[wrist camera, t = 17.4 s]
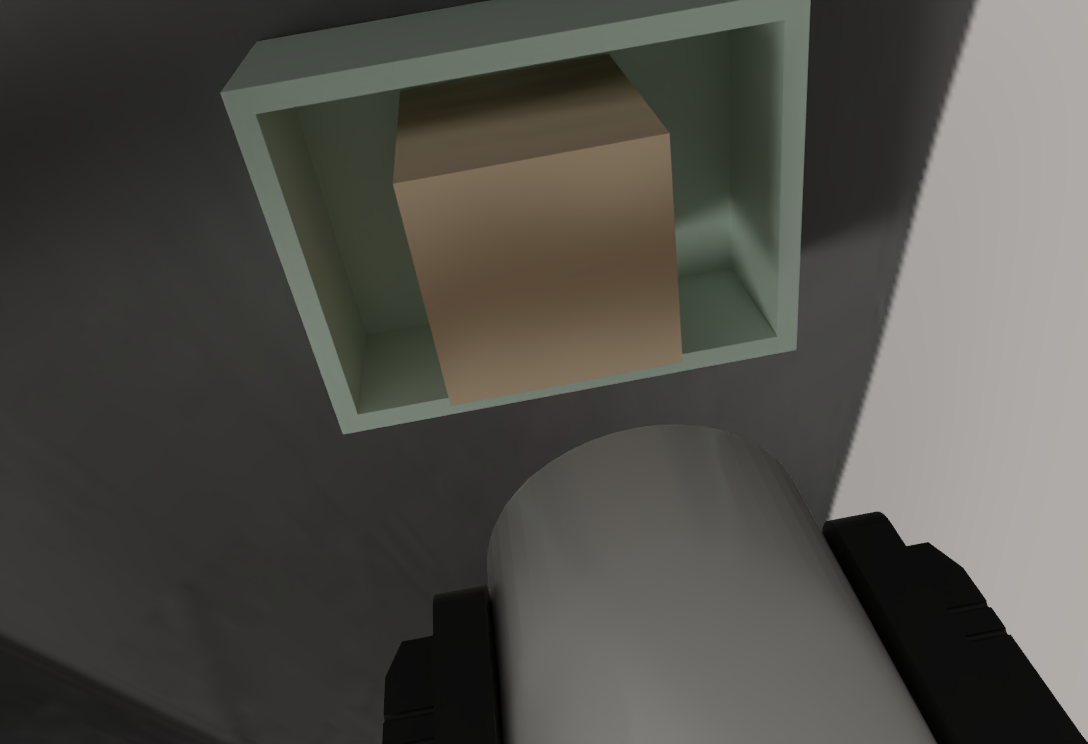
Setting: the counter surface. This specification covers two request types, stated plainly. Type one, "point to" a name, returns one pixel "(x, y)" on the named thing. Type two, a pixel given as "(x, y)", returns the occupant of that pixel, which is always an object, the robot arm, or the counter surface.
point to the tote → (504, 46)
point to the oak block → (540, 227)
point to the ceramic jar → (681, 605)
